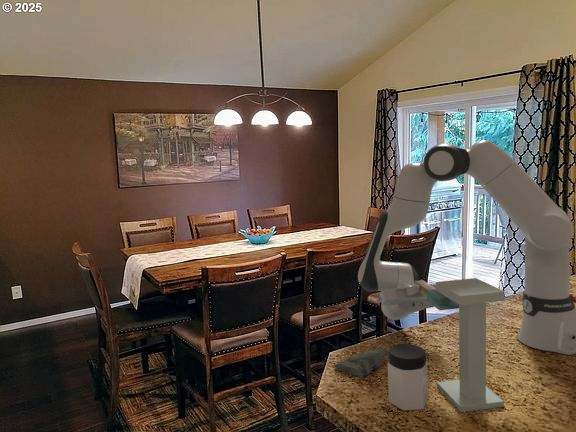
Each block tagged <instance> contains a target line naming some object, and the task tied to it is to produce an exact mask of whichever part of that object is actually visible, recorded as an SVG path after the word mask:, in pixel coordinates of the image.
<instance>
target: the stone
mask: <svg viewBox="0 0 576 432" xmlns="http://www.w3.org/2000/svg"><path fill="white" fill-rule="evenodd" d="M388 356H389V351H388V350H387V348H386V347H379V348H375V349H371V350H370V351H369V350H368V351H362V352H359V353H358V354H355V355H352V356H349V357H346V359H344V360H340V361H338V362H337V363H335V365H334V367H335V369H337V370H339V371H342V372H343V373H345V374H348V375H352V376H355V377H357V378H363V377H366V376H368V375H369V374H370V373H372V372H373V371H372V370H374V369H376V368H380V367H381V366H382V364H383V362H384V361H385V360H386V358H387V357H388Z"/></svg>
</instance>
